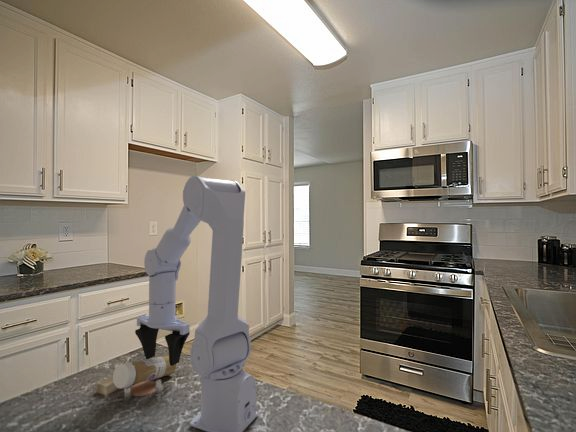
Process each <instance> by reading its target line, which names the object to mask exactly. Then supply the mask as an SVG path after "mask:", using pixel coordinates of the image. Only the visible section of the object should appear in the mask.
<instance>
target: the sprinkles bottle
mask: <svg viewBox="0 0 576 432" xmlns="http://www.w3.org/2000/svg"><path fill="white" fill-rule="evenodd" d="M176 369H177V364H175V365H173V366H171V365H170V362H169V354H167V355H162V356H157V357H156V356H155V357H152V358H150V359H146V358H145V359H142V360H138V361H133V362H124V363H120V364H118V365H117V366H116V367H115V369H114V370H113V375H112V376H113V382H114V384H115V386H116V387H117V388H119V389H120V390H121V389H124V388H126V387H129V386H131V387H132V386H134V385H136V384H138V383H141V382H145V381H154V380H157V379H160V378H161V377H165V376H171V375H173V374H174V373H175V371H176ZM119 389H118V390H119Z"/></svg>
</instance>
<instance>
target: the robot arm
mask: <svg viewBox="0 0 576 432" xmlns="http://www.w3.org/2000/svg"><path fill="white" fill-rule="evenodd" d="M182 201H183V207H182V208H181V210H180V213H179V216H178V218H177V219H176V222H175V224H174V226H173V227H169V228H168V229H167V230H165V232H164V234H163V235H162V237H161V239H160V240H159V242H158V243H157V246H156V247H155V248H153V247H152V249H148V250H147V251H146V253H145V256H144V265H143V266H144V270H145V273H146V274H147V275H148V296H149V297H148V315H142V316H138V317H136V326H137V327H139V328H138V329H135V330H134V333H135V335H136V336H137V338H138V340H139V342H140V345H141V347H142V350H143V354H144V357H145V360H146V359H151V358H155V357H156V356H155V355H156V351H157V338H158V334H159V330H162V331H163V330H164V331H167V332H170V333H168V334H167V335H165V336H164V339H165V342H166V345H167V349H168V355H169V362H170V365H171V366H173V365H175V364H176V365H177V364H179V363H180V359H181V356H182V355H181V354H182V351H183V348H184V346H185V343H186V341H187V339H188V337H189V336H190V323H187V322H185V321H182V320H180V319H179V317H178V315H176V300H177V299H176V282H177V281H178V279H179V271H180V269H181V266H182V265H181V264H182V261H181V258H182V257H183V255H184V253H186V251H187V249H188V247H189V246H190V245H191V236H190V235H191V234H192V232H193V231H194V230H195V229H196V228H197V227H198V225H199V224H200V223H201V222H203V223H206V224H207V225H208V226H209V227H210V229H211V231H212V238H211V254H210V270H209V272H210V273H209V285H208V288H209V289H208V302H207V303H208V305H207V315H206V317H205V318H204V320H202V321H201V322H200V324H199V325H198V326H197V327H196V328H195V330H194V338H193V342H192V344H191V347H190V351H189V353H190V354H189V358H190V363H191V366H192V368H193V370H194V372H195V373H196V374H198V375H199V376H200V414H198V415H196V417H194V418H193V419H192V420H191V421H190V422H189V425H190V426H191V427H193V428H195V429H199V430H200V431H204V432H244V431H245V430H246V429H247V427H248V426H249V425H250V424H251V423H252V422H253V421H254V420H255V419H256V417H257V416H258V415H259V412H258V411H257V384H256V379H255V377H254V376H253V375H251V374H249V373H248V372H246V371H245V370H244V369H243V368H244V367H245V366H246V360H247V359H248V358H250V356H251V352H252V341H251V337H250V325H249V323H248V322H247V321H246V320H245V319H244V318H242V317H240V316H239V315H238V314H239V302H240V301H239V300H240V288H241V287H240V285H241V271H242V270H241V269H242V259H243V258H242V257H243V256H242V255H243V254H242V253H243V239H244V225H245V219H244V218H245V202H246V190H245V189H244V188H243V186H242V185H241V184H240V183H239V181H236V180H234V179H230V180H227V179H220V178H213V177H211V178H209V177H201V176H199V175H192V176H191V177H189V178H188V179H187V180H186V182H185V184H184V187H183V189H182Z"/></svg>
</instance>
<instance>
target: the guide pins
mask: <svg viewBox="0 0 576 432" xmlns="http://www.w3.org/2000/svg"><path fill="white" fill-rule="evenodd" d="M131 387H132V385H131V386H129V387H126V388H123V390H124V395H123V398H124V400H129V399H131V397H132V395H131ZM161 393H162V379H160V378H158V379H155V391H154V394H155V395H160V394H161Z"/></svg>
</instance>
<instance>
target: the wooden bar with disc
mask: <svg viewBox="0 0 576 432" xmlns="http://www.w3.org/2000/svg"><path fill="white" fill-rule="evenodd" d="M155 381H156V380H155ZM155 381H154V380H148V381H144V382H140V383H137V384H133V385H131V396H137V397H139V396H146V395H149V394H152V393H155ZM118 390H119V388H117V387H116V386H115V384H114V382H113V375H111V376H109V377H107V378H105V379H103V380H100V381H98V382H97V383H96V393H97V394H100V395H103V396H108V395H111V394H112V393H114V392H116V391H118Z"/></svg>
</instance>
